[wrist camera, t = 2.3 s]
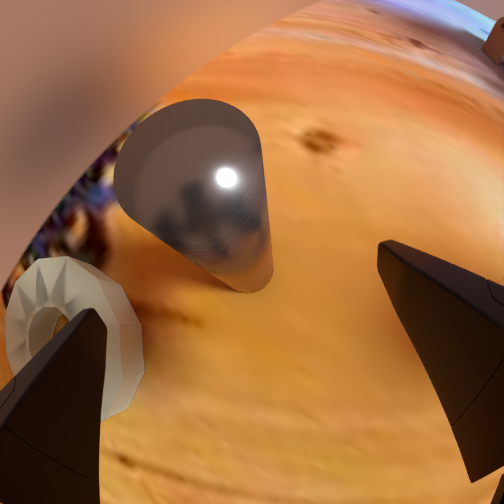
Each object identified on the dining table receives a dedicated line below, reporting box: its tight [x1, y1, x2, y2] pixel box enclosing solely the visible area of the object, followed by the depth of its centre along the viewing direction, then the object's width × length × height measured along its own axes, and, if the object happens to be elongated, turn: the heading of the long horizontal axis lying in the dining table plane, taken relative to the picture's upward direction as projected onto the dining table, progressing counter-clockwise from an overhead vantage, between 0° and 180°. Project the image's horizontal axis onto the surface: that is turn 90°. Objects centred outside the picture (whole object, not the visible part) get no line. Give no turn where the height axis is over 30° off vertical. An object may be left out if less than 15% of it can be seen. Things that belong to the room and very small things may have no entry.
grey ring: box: [5, 256, 145, 421], centre depth 16 cm, size 12×12×3 cm
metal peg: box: [114, 99, 273, 293], centre depth 12 cm, size 3×3×13 cm
